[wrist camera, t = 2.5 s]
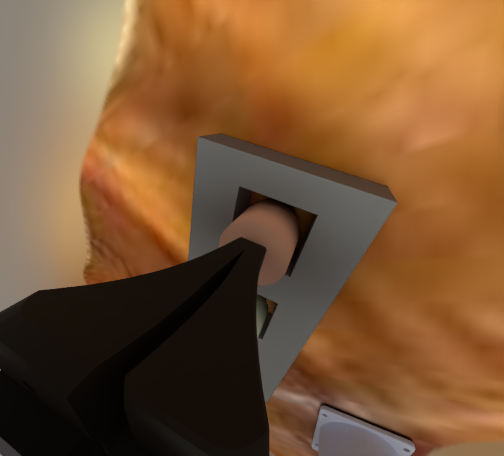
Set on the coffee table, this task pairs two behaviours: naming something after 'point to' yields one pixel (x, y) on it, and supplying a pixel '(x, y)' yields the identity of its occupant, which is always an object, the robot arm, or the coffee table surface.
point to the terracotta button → (267, 236)
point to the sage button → (261, 312)
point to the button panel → (314, 246)
